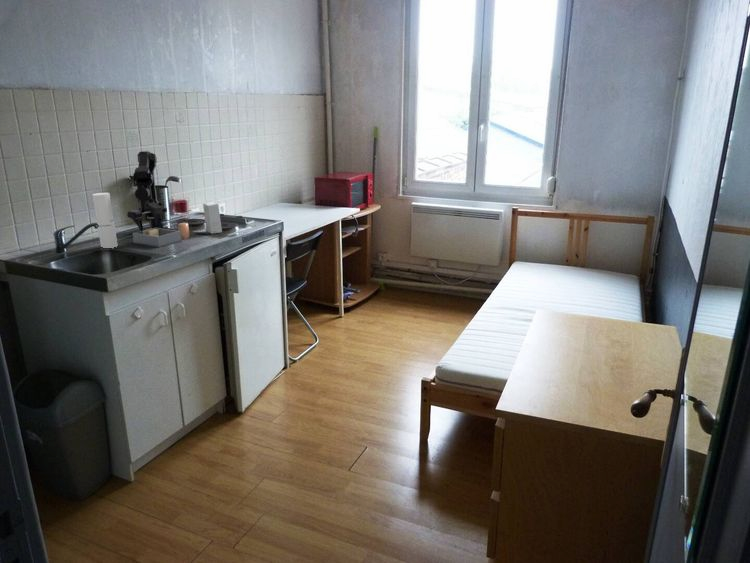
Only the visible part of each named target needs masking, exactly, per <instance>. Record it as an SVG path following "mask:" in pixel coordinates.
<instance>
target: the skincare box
mask: <svg viewBox="0 0 750 563" xmlns="http://www.w3.org/2000/svg"><path fill="white" fill-rule="evenodd" d="M202 207H203V212H204V213H203V214H204V220H205V221H204V222H205V228H206V232H207V233H209V234H218V233H219V234H220V233H222V232H223V229H222V223H221V222H222V221H221V215H220V207H219V203H216V202H214V201H212V202H207V203H203V204H202Z"/></svg>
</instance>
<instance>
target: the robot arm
mask: <svg viewBox="0 0 750 563" xmlns="http://www.w3.org/2000/svg"><path fill="white" fill-rule="evenodd" d="M157 159H158V158H157V155H156V154H155V153H153V152H151V151H147V150H146V151H139V152H138V154H137V162H138V167H136V168H134V173H132V177H133V187H137V189H136V190H135V192H134V196H135V198H136V199H137V202H139V207H138V209H137V210H136V209H132V210H129V211H127V213H126V215H127V218H129V219H131V220H133V222H134V223H135V224H136V226H137V227H138V229H139V230H140V231H143V230H144V227H143V226H144V225H143V219H144V217H143V215H144V216H145V220H146V221H148V222H149V223H148V224H149V229H152V228H162V229H164V224H163V223H164V222H163V220H165V219H166V215H165V214H166V213H167V212H168V208H167V207H166V205H165V203H164V202H163V201H159V200H158V199H157V190H156V189H157V188H156V181H155V172H154V171H155V169H156V167H157V163H158V161H157Z"/></svg>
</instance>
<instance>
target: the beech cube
mask: <svg viewBox="0 0 750 563" xmlns="http://www.w3.org/2000/svg"><path fill="white" fill-rule="evenodd" d="M143 234H145V235H151V236H159V234H158V229H150V228H147V229H143Z"/></svg>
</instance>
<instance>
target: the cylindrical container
mask: <svg viewBox="0 0 750 563" xmlns="http://www.w3.org/2000/svg"><path fill="white" fill-rule="evenodd" d="M91 197H92V200H93V206H94V213H95V214H94V215H95V220H96V224H98V225H99V227H98V226H97V231H98V236H99V241H100V242H99V244H100V248H101V247H103V248H112V249H115V248H114V247H116V248H118V247H117V246H118V239H117V233H116V226H115V220H114V214H113V208H112V201H111V194H110V192H97V193H92V196H91Z"/></svg>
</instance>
